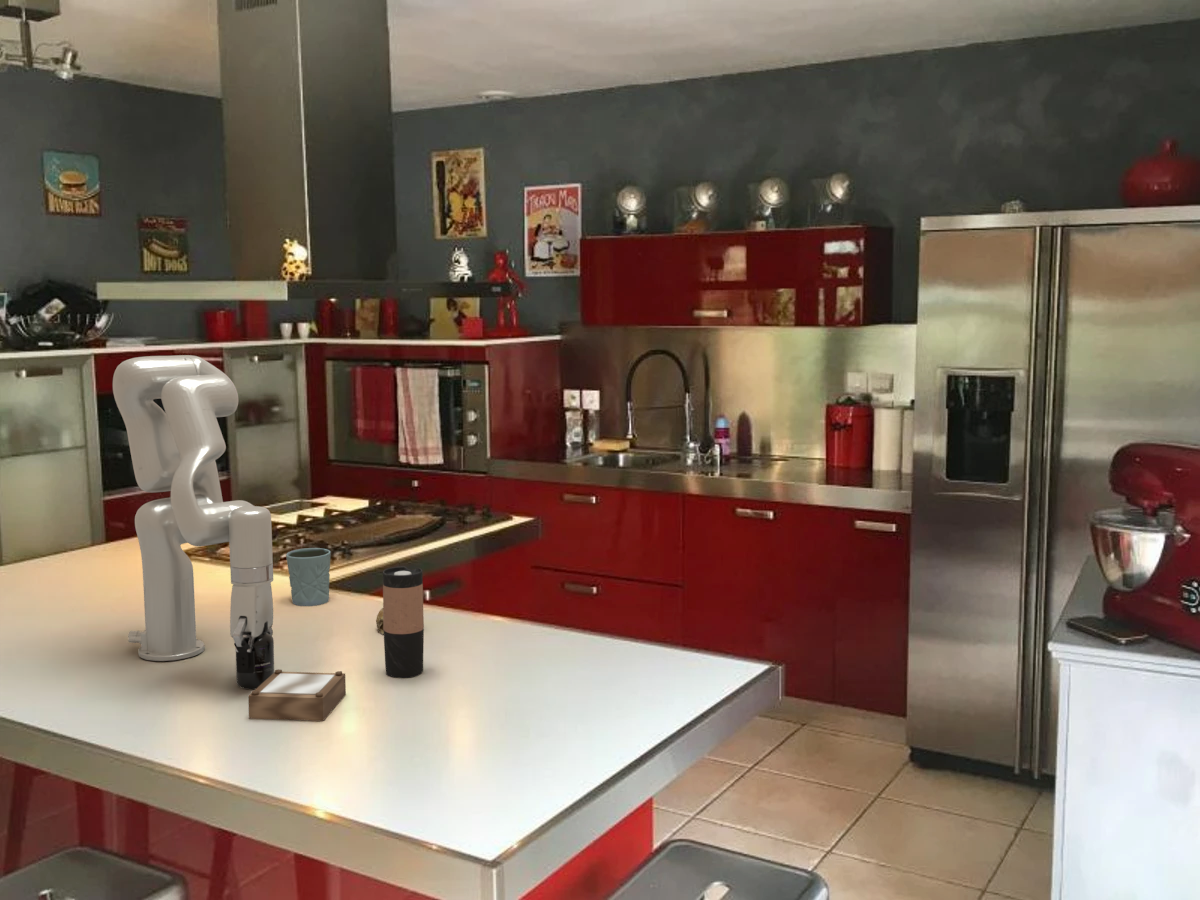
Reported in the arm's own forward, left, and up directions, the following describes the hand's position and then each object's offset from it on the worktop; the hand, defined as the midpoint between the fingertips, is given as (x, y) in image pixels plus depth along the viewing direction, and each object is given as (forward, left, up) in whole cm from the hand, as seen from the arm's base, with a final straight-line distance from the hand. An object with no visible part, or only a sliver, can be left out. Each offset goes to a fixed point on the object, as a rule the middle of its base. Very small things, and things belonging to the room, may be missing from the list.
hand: (255, 664), depth 212 cm
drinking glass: (-9, +58, -4) cm, 59 cm away
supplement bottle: (0, 0, -4) cm, 4 cm away
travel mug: (+26, +9, -4) cm, 28 cm away
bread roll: (+18, +37, -4) cm, 42 cm away
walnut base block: (+12, -11, -4) cm, 17 cm away
